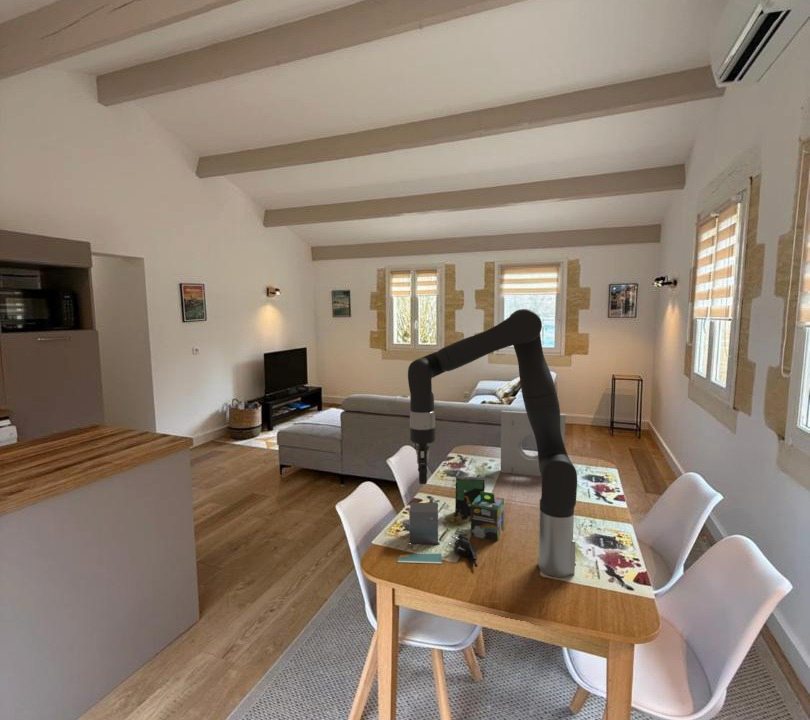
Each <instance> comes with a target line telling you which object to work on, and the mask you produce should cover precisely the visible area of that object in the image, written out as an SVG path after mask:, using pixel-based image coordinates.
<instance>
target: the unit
mask: <svg viewBox="0 0 810 720" xmlns="http://www.w3.org/2000/svg"><path fill="white" fill-rule="evenodd" d="M408 515H409V518H408V522H409V523H408V527H409V528H408V529H409V543H411V544H410V545H412V544H414V545H415V544H419V545H420V546H440V545H441V542H440V541H439V503H438V502H410V505H409V513H408ZM414 545H413V546H414ZM415 546H416V545H415Z"/></svg>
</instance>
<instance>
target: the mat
mask: <svg viewBox="0 0 810 720" xmlns="http://www.w3.org/2000/svg"><path fill="white" fill-rule="evenodd" d="M406 555H408V556H409V557H397V563H399V564H426V565H429V564H430V565H442V564H443V562H442V556H443V555H442V553H411V554H410V553H408V554H407V553H406Z"/></svg>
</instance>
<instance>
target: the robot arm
mask: <svg viewBox="0 0 810 720" xmlns="http://www.w3.org/2000/svg"><path fill="white" fill-rule="evenodd" d="M542 327H543V322H542V320H541V317H540V316H539V314H538V313H536V312H535V311H534V310H531V309H527V308H523V309H522V308H521V309H517V310H515V311H513V312H512V313H511V314H510V315H509V316H508V317H507V318H506V319H504V320H502V321H501V322H499V323H498V324H496V325H495V326H493V327H490V328H489V329H486V330H484V331H482V332H479V333H477V334H473V335H471V336H468V337H465V338H462V339H460V340H458V341H455V342H453V343H451V344H448V345H446V346H444V347H442V348H440V349H439V350H437V351H435V352H432V353H429V354H427V355H424V356H422V357H420V358H419V357H418V358H417V359H414V360H413V361H412V362H411V363H410V364H409V366H408V368H407V381H408V382H407V383H408V390H409V394H410V397H409V398H410V400H409V402H410V406H409V407H410V415H409V435H410V436H409V440H410V442H411V443H413V444H418V445H416V448H415V449H416V450H415V454H416V463H417V467H418V468H417V471H418V477H419V478H418V483H419V484H420V485H427V482H428V465H429V461H430V459H429V456H430V451H431V450H430V446H431V445H428V444H432V443H434V442H435V441H436V415H435V395H434V393H433V391H432V389H433V388H432V387H433V385H432V379H433V378H435V377H437V376H439V375H441V374H444V373H446V372H452V371H454V370H456V369H459V368H462V367H463V366H466V365H468V364H470V363H472V362H474V361H476V360H479V359H481V358H482V357H485V356H487V355H489V354H491V353H494V352H497V351H499V350H502V349H505V348H508V347H512V346H513V349H514V352H515V355H516V358H517V363H518V364H517V365H518V374H519V383H520V390H521V394H522V399H523V404H524V409H525V412H527V416H528V419H529V422H530V425H531V427H532V430H533V432H534V435H535V436H534V439H535V443H536V449H537V450H536V451H537V455H538V460H539V470H540V473H541V476H540V477H541V495H540V496H541V497H540V499H539V521H538V522H539V524H538V527H539V528H538V529H539V531H538V557H537V558H538V560H537V561H538V564H537V565H538V568H539V570H541V572H543V574H546V575H548V576H552V577H556V578H565V577H569V576H570V575H575V572H576V571H575V570H576V566H575V565H576V564H575V563H576V541H575V539H574V520H575V507H576V505H577V491H578V473H577V469H576V467H575V465H574V464H573V462H572V461H571V460H570V457H569V455H568V452H567V450H566V447H565V446H564V443H563V439H562V436H561V428H560V414H561V408H560V401H559V397H558V393H557V388H556V385H555V382H554V379H553V376H552V374H551V373H552V372H551V371H550V368H549V366H548V363H547V361H546V358H545V356H544V355H545V354H544V351H543V345H542V340H541V337H542V336H541V331H542Z"/></svg>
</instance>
